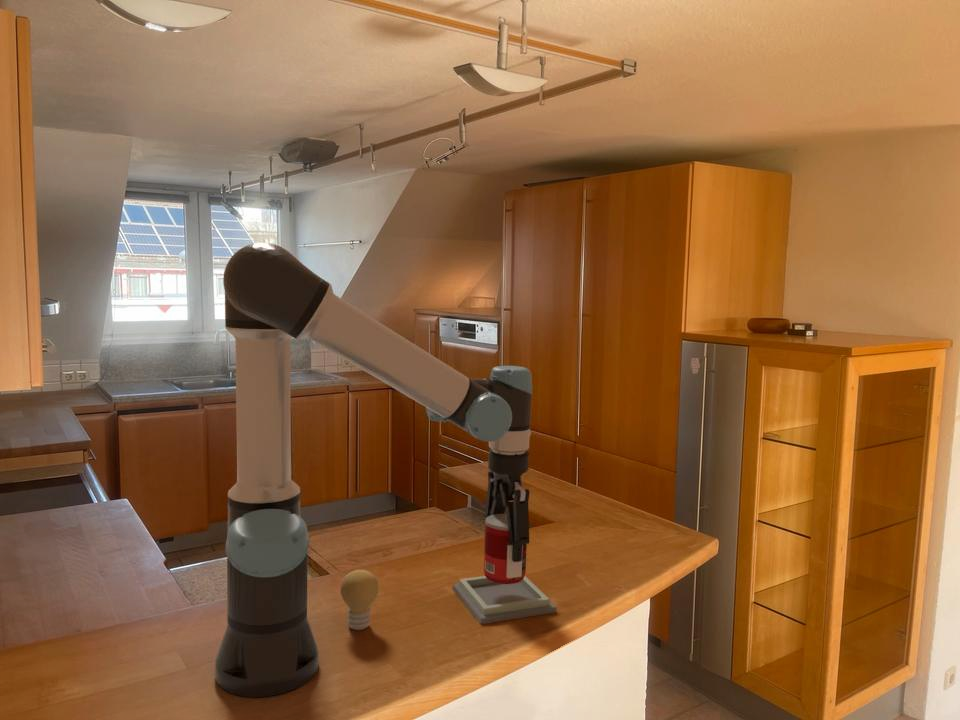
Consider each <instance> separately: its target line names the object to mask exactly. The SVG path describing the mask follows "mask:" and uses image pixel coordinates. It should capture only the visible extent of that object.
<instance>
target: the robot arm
mask: <svg viewBox="0 0 960 720" xmlns="http://www.w3.org/2000/svg"><path fill="white" fill-rule="evenodd" d="M222 278H223V288H224V318H225V320H224V323H225V325H224V327H225V329H226V331H228V333H230V334H231V335H232V336H233V338H234V339H235V340H234V341H235V390H236V391H235V397H236V398H235V400H236V401H235V405H236V406H235V407H236V411H235V413H236V414H235V415H236V464H237V465H236V483H235V484H234V485H233V486H232V487H230V489H229V490H227V491H228V492H227V527H226V528H227V536H226V537H227V538H226V540H225V554H226V579H227V580H226V584H227V585H226V586H227V587H226V594H227V595H226V599H227V601H226V602H227V603H226V604H227V606H226V609H227V614H226V616H227V624H226V629H225V631H224V634H223V637H222V640H221V642H220V646H219V648H218V652H217V655H216V657H215V661H214V662H215V663H214V664H215V666H214V673H215V675H214V676H215V681H216V683H217V684H218V686H219V687H220V688H221V689H222V690H224V691H226V692H228V693H229V694H233V695H236V696H241V697H248V698H249V697H251V698H264V697H270V696H271V697H272V696H276V695H280V694H285V693H288V692H291V691H293V690H296V689H297V688H300V687H301V686H303V685H304V684H306V683H308V681H310V680H311V679H312V678H313V677H314V675H315V674H316V672H317V671H318V668H319V648H318V645H317V641H316V639H315V637H314V633H313V630H312V628H311V625H310V621H309V619H308V558H309V557H308V553H309V552H308V551H309V547H310V537H309V532H308V526H307V524H306V522H305V521H304V519H303V518H302V517H301V487H300V486H299V485H298V484H297V483H296V482H295V481H293V479H292V478H291V477H292V475H291V474H292V472H291V471H292V467H291V466H292V465H291V462H292V460H291V458H292V454H291V453H292V451H291V445H292V441H291V440H292V438H291V436H292V434H291V433H292V431H291V428H292V427H291V425H292V424H291V417H292V416H291V408H292V407H291V402H292V401H291V338H294V339H296V340H301V339H305V338H307V339H309V340H311V341H313V342H315V343H316V344H318V345H319V346H321V347H323V348H325V349H326V350H328V351H330V352H331V353H333V354H335V355H336V356H338V357H340V358H342V359H343V360H345V361H347V362H348V363H350V364H351V365H354V366H355V367H357V368H359V369H360V370H362V371H364V372H365V373H367V374H369V375H371V376H373V377H374V378H376V379H377V380H379V381H381V382H383V383H384V384H386V385H388V386H390V387H391V388H393V389H394V390H396V391H397V392H400V393H401V394H403V395H404V396H406V397H408V398H410V399H411V400H413V401H415V403H416V402H417V403H418V404H420V405H421V406H424V407H425V411H426V413H427V417H428V419H430V420H431V421H433V422H443V423H447V422H449V423H452V424H454V425H455V426H457V427H458V428H460V429H462V430H464V431H465V432H467V433H468V435H470V436H472V437H473V438H475V439H476V440H480V441H481V442H482V441H483V442H488V447H489V448H490V450H489V451H488V462H487V463H488V464H487V466H488V470H489V471H488V473H487V483H488V484H487V493H486V500H485V501H486V503H485V509H484V511H485V512H484V518H485V519H486V518H487V517H488V516H490V515H494V514H507V520H508V528H509V536H510V542H506V543H507V545H508V546H507V572H506V577H507V578H515V577H521V574H522V550H523V544H527V545H528V544H530V521H529V520H530V519H529V518H530V517H529V516H530V515H529V499H530V490H529V489H528V488H523V486H522V477H521V476H522V475H523V474H526V473H527V472H528V471H529V469H530V467H529V466H530V453H529V451H528V450H529V449H530V436H532V431H531V413H532V397H533V396H532V395H533V393H534V392H533V380H532V379H533V376H532V372H531V371H530V369H528V368H527V367H523V366H518V365H500V366H498V365H497V366H494V367H493V368H492V369H491V373H490V376H489V377H485V378H484V377H483V378H469V377H468V376H467V375H465V374H463V373H461V372H460V371H458V370H457V369H456V368H455V369H454V367H452V366H450V365H448V364H447V363H445V362H443V361H442V360H441V359H439V358H437V357H435V356H433V355H432V354H431V353H430V352H427V351H426V350H425V349H423V348H421V346H418V345H417V344H415V343H413V342H411V341H410V340H409V339H407V338H406V337H403V336H402V335H400V334H399V333H397V332H396V331H394V330H392V329H391V328H389V327H387V326H386V325H384V324H383V323H382V322H380V321H378V320H377V319H375V318H373V317H371V316H370V315H368V314H367V313H365V312H364V311H361V310H360V309H359V308H358V307H355V306H354V305H352V304H351V303H349V302H347V301H346V300H344V299H343V298H341V297H340V296H338V295H336V294H335V293H334V290H333V286H332V284H331V283H329V282H328V281H326V280H325V279H323V278H322V277H320V276H319V275H317V274H316V273H315V272H314V271H312V270H311V269H309V268H308V267H307V266H305V265H304V263H302V262H301V261H300V259H297V258H296V256H294V255H293V254H292V253H290V251H289V250H287V249H286V248H284V247H282V246H280V245H278V244H274V243H269V242H255V243H250V244H248V245H245V246H243V247H242V248H240V249H238V250H237V251H236V252H234V254H233V255H232V256H231V257H230V259H229V260H228V262H227V264H225V268H224V271H223V276H222Z"/></svg>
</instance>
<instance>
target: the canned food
mask: <svg viewBox="0 0 960 720" xmlns="http://www.w3.org/2000/svg"><path fill="white" fill-rule="evenodd" d="M484 524H485V525H484V550H483V553H484V555H483V574H484V576H486V578H487V579H489V580H490V581H492V582H495V583H500V584H514V583H518V582H520V581H522V580H523V579H524V576H525V577H526V574H527V573H526V569H527V568H526V565H527V547H528V544H523V550H522V574H521V577H515V578H507V577H506V572H507V546H508V545H507V543H506V542H510V536H509V528H508V520H507V513H504V514H494V515H490V516H488V517H487V518H485V522H484Z"/></svg>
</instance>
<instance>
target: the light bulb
mask: <svg viewBox="0 0 960 720" xmlns="http://www.w3.org/2000/svg"><path fill="white" fill-rule="evenodd" d="M378 593H379V582H378V579H377V577H376V576H375V575H374V574H373V573H372V572H370V571H368V570H365V569H356V570H352V571H350V572H348V574H347V573H346V575H345V576H344V577H343V579H342V581H341V584H340V595H341V598H342V601H343V602H344V604H345V605H347V607H348V609H347V614H348V615H347V625H348V627H350V629H352V630H354V631H361V630H362V631H363V630H366V628H367V627H369V626H370V623H371V620H370V618H371V614H370V613H371V608H370V606H372V604H373V603H374V602H375V600H376V598H377V597H378Z"/></svg>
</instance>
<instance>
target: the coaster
mask: <svg viewBox="0 0 960 720" xmlns="http://www.w3.org/2000/svg"><path fill="white" fill-rule="evenodd" d="M458 581H459V582H456V583H452V590H453V591H454V593H455V594H456V595H457V597H459V599H460V600H461V601H462V603H463V604H464V606H466V607H467V609H468V611H469V612H471V614H472V615H473V616H474V618H475V619H476V620H477V621H478V623H479V624H480V625H485V624H490V623H496V622H503V621H508V620H516V619H521V618H527V617H535V616H542V615H547V613H548V614H553V613H554V612H555V613H557V606H556V605H555V604H554V603H553V602H552V601H551V599H550V598H549V597H548V596H547V595H545V593H544V592H542V590H541V589H539V588H538V587H537V586H536V584H534V583H533V582H532V581H531V580H530V579H529V578H528V577H527V576H526V575H525V576H524V579H523V580H522V581H520V582H518V583H514V584H500V583H495V582H492V581H490V580H489V579H487V578H486V576H485V575H481V576H476V577H475V576H474V577H466V578H460V579H459V580H458ZM555 613H554V614H555Z"/></svg>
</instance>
